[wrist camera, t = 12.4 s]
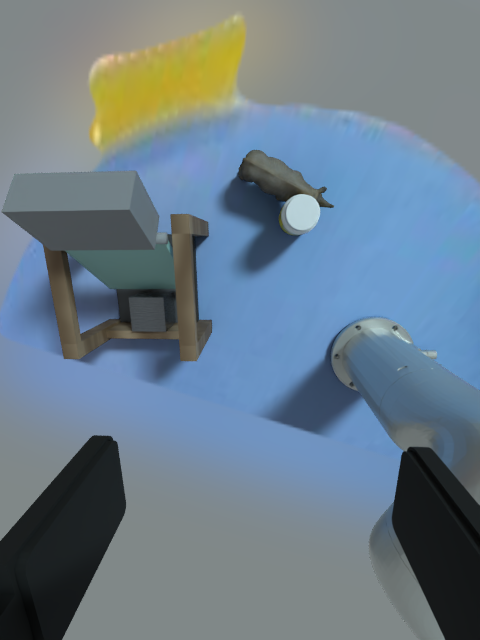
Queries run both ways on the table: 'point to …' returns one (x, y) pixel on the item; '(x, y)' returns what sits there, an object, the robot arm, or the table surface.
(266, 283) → the table surface
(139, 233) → the grey and green slab
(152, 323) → the block
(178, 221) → the frame
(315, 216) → the supplement bottle
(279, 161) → the rhino figurine
